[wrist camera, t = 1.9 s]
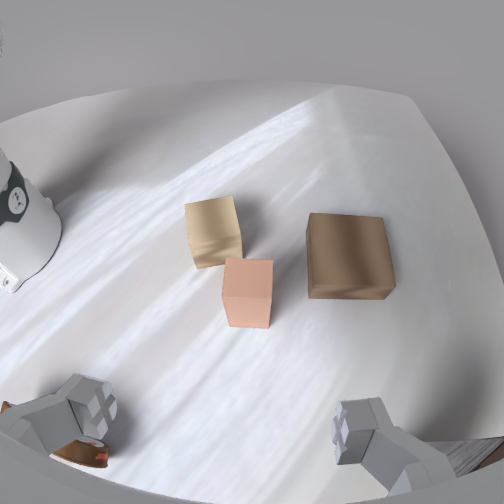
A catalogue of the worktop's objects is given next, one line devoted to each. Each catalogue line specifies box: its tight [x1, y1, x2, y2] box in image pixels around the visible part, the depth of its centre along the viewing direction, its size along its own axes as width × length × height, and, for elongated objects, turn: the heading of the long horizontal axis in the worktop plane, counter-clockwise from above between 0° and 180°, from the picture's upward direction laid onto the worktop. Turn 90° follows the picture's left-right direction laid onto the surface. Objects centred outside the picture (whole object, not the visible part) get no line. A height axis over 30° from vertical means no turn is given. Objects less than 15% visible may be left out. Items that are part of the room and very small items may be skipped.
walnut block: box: [306, 213, 396, 299], centre depth 37 cm, size 10×10×4 cm
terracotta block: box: [222, 258, 273, 329], centre depth 32 cm, size 4×4×9 cm
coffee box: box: [388, 436, 504, 492], centre depth 17 cm, size 9×6×16 cm
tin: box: [0, 401, 109, 468], centre depth 23 cm, size 15×3×8 cm, turn 83°
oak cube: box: [185, 196, 243, 269], centre depth 38 cm, size 6×6×6 cm
